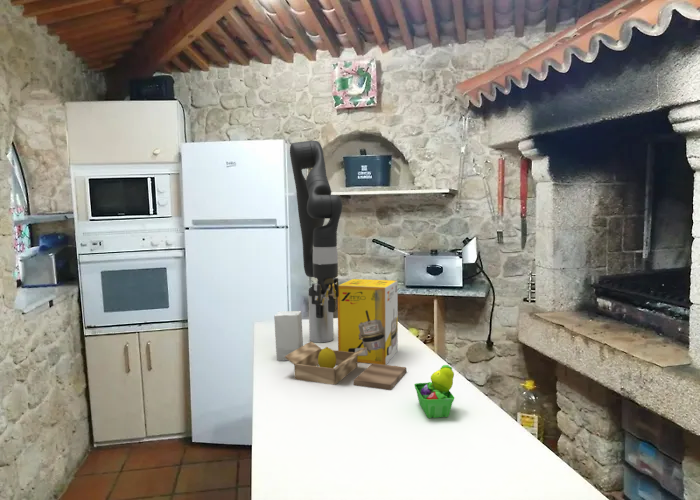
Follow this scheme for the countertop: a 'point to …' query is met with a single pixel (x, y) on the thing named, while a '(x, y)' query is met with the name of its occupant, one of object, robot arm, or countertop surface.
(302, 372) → the carton
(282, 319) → the skincare box
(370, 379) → the walnut board
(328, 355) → the lemon
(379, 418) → the countertop surface
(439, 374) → the fruit basket
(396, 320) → the packaging box
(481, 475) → the countertop surface
